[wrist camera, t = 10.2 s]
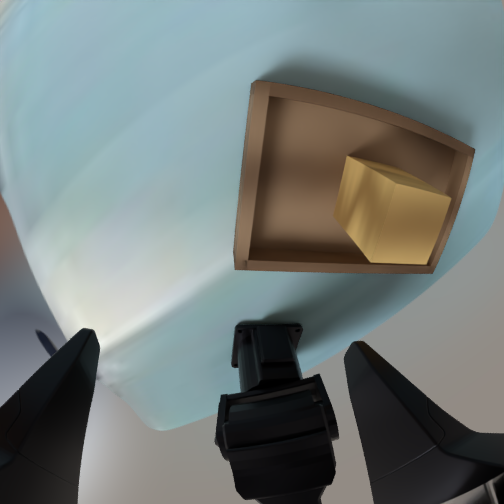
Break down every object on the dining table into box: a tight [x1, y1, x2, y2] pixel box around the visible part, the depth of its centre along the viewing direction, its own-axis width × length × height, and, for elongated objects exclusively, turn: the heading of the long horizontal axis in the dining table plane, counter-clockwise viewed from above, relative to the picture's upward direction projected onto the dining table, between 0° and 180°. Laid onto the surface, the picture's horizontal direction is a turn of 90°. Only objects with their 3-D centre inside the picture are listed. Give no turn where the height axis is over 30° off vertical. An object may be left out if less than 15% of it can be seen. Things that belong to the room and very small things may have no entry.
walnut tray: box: [233, 80, 475, 274], centre depth 18 cm, size 12×18×2 cm, turn 84°
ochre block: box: [333, 156, 451, 264], centre depth 16 cm, size 4×4×6 cm
